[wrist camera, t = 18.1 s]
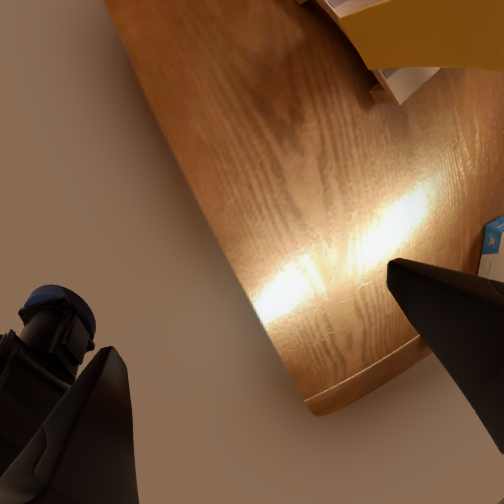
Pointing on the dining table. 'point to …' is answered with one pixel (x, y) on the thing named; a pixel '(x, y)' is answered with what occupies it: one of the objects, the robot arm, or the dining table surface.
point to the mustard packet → (429, 34)
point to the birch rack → (391, 80)
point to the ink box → (493, 251)
